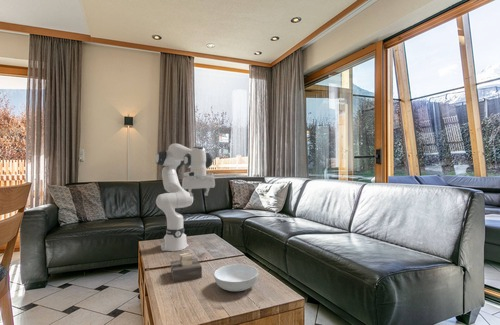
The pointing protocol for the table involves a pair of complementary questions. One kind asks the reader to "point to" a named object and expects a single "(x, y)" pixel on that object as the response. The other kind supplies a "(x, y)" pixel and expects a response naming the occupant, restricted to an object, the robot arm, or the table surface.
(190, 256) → the birch cube
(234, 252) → the table surface
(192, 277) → the charcoal riser block
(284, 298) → the table surface
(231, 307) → the table surface
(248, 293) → the table surface
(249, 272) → the serving bowl
